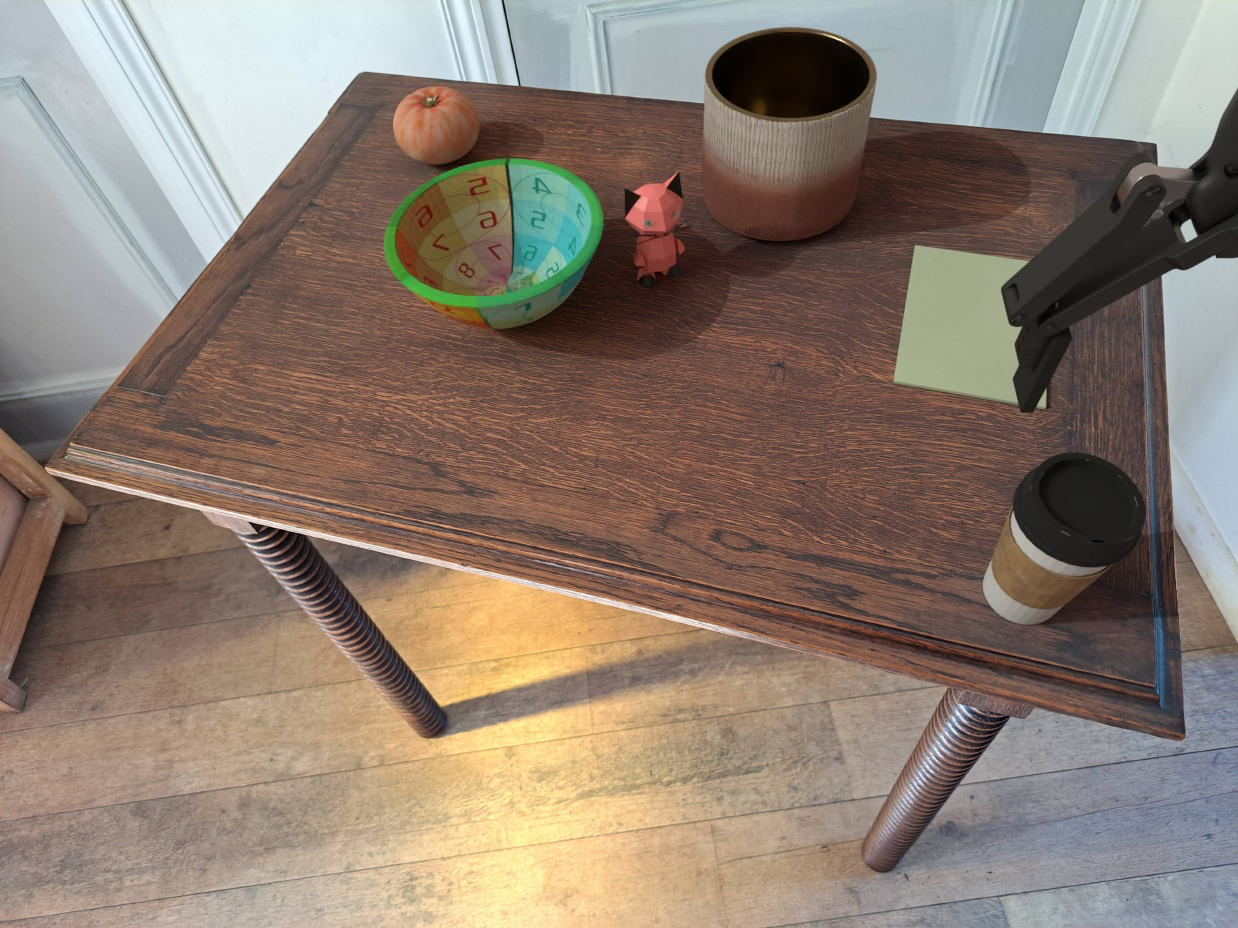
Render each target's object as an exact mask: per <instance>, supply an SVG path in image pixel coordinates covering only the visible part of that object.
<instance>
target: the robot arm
mask: <svg viewBox="0 0 1238 928" xmlns="http://www.w3.org/2000/svg"><path fill="white" fill-rule="evenodd" d="M1113 179H1114V180H1113V181H1112V183H1111V184H1110V186H1109V187H1108V188H1107V190H1106V191H1105V192H1104V193H1103V194H1102V195H1101V196H1100V197H1099V198H1098V199H1097V200H1096V201H1094V203H1092V204H1091V205H1090V206H1089V207H1088V208H1086V209H1085V210H1084V212H1082V213H1081V214H1080V215H1079V216H1078V217H1077V218H1076V219H1074V220H1073V221H1072V222H1071V223H1069V225H1068V226H1067V227H1065V228H1064V230H1062V231H1061V232H1060V233H1059V234H1058V235H1057V236H1055V238H1053V239H1052V240H1051V241H1050V242H1049V243H1048V244H1047V245H1045V246H1044V248H1042V249H1041V250H1040V251H1039V252H1037V254H1036V255H1034V256H1033V257H1032V258H1031V259H1030V260H1028V261H1029V262H1028V263H1027V264H1026V265H1025V266H1024V267H1022V268H1021V269H1020V270H1019V271H1018V272H1017V273H1016V274H1015V275H1014V276H1012V277H1011V278H1010V279H1009V280H1008V281H1007V282H1006V283H1005V284H1004V285H1003V286H1002V287H1001V293H1002V297H1003V302H1004V306H1005V310H1006V314H1007V318H1008V322H1009V324H1010V325H1011V326H1013V327H1022V328H1021V330H1020V333H1019V335H1018V338H1017V339H1016V341H1015V344H1014V345H1015V351H1016V355H1017V359H1018V363H1019V366H1018V368H1017V370H1016V372H1015V374H1014V376H1013V383H1014V387H1015V392H1016V396H1017V400H1018V405H1017V406H1018V409H1019V413H1025V414H1026V413H1027V414H1034V412H1035V411H1036V409H1037V408H1036V407H1037V405H1038V403H1039V401H1040V399H1041V397H1042V395H1043V393H1044V392H1045V390H1046V388H1048V386H1049V384H1050V382H1051V380H1052V378H1053V377H1054V375H1055V373H1056V371H1057V369H1058V367H1059V365H1060V363H1061V362H1062V360H1063V357H1064V356H1065V354H1066V352H1067V350H1068V348H1069V346H1070V344H1071V343H1072V341H1073V336H1072V332H1071V330H1070V327H1071V326H1073V325H1075V324H1076V323H1079V322H1080V321H1082V320H1084V319H1086V318H1087V317H1090V316H1091V315H1094V314H1095V313H1097V312H1098V311H1100V310H1102V309H1103V308H1106V307H1107V306H1110V305H1111V304H1114V303H1115V302H1117V301H1118V300H1120V299H1122V298H1124V297H1126V296H1127V295H1129V294H1131V293H1133V292H1135V291H1137V290H1138V289H1140V288H1143V287H1144V286H1146V285H1147V284H1149V283H1152V282H1153V281H1155V280H1156V279H1158V278H1160V277H1162V276H1164V275H1165V274H1168V273H1169V272H1171V271H1173V270H1180V271H1181V272H1183V271H1187V270H1190V269H1192V268H1194V267H1195V266H1197V265H1200V264H1202V263H1203V262H1205V261H1207V260H1209V259H1211V258H1213V257H1214V256H1215V259H1238V87H1237V88H1236V90H1235V91H1234V93H1233V95H1232V97H1231V99H1230V101H1229V102H1228V103H1227V105H1226V107H1225V110H1224V111H1223V113H1222V115H1221V117H1220V120H1219V122H1218V125H1217V128H1216V130H1215V135H1214V137H1213V139H1212V143H1211V145H1210V147H1209V148H1208V149H1207V150H1206V152H1205V153H1204V154H1203V155H1202V156H1201V157H1200V158H1198V159H1197V160H1196V161H1195V162H1194V163H1192V164H1191V165H1190V166H1188V168H1184V167H1183V168H1182V167H1171V166H1161V165H1157V164H1156V163H1155V160H1154V158H1153V156H1152V155H1151V154H1150V153H1148V152H1137V153H1134V154H1132V155H1131V156H1130V157H1128V158H1127V159H1126V160H1125V162H1124V163H1123V165H1122V167H1121V168H1120V169H1119V171H1118V173H1117V175H1116V176H1115V178H1113ZM1188 221H1190V222H1191V224H1192V227H1193V230H1194V232H1195V233H1196V236H1195V237H1194V238H1192V239H1189V240H1188V241H1187V240H1186V238H1185V236H1184V234H1183V231H1182V226H1183V224H1185V223H1186V222H1188Z"/></svg>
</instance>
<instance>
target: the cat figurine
mask: <svg viewBox="0 0 1238 928" xmlns="http://www.w3.org/2000/svg"><path fill="white" fill-rule="evenodd" d="M680 174H681V173H680V171H679V170H678V171H677V172H675V174H673V175H672V176H671V177H670V178H669V179H667V180H665V182H658V183H647V184H643V185H641V187H638V188H637V189H635V190H634V191H632V190H630V189H627V188H624V219H625V220H626V222H627V223H628V225H629V226H630V227H631V228H632V229H633V230H635V231H637V232H638V234H634V236H636V237H637V239H636V243H635V245H636V253H635V255H634V257H633V263H634V265H635V266H636V267H637V268H639V269H638V271H637V278H636V281H637V283H638V284H640V285H641V286H642V287H649V286H650V287H651V286H652V285H654V282H656V280H657V279H656V274H655V273H656V272H660V273H662V274H663V275H664V276H665V277H671V278H677V277H678V276H679V275H681V274H682V272H681V267H680V265H678V264H677V253H678V254H679V256H681V255H682V254H683V253H684V252H685V251H686V249H685V244H684V243H682V239H678V238H675V235H674V234H673V233H676V232H680V231H683V230H686V229H689V228H690V227H691V226H693V223H692V224H691V225H689V226H686V227H683V228H680V229H677V228H679V227H680V226H681V225H683V224H684V223H686V222H687V221H689V220H690V218H691V217H689V218H687V219H685V221H683V222H682V223H680V224H679V225H678V223H679V221H680V220H681V214H682V209H683V203H684V196H683V195H684V194H683V189H682V183H681V182H682V181H681V175H680ZM672 230H674V231H672ZM630 236H633V234H630Z"/></svg>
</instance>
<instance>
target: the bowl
mask: <svg viewBox="0 0 1238 928" xmlns="http://www.w3.org/2000/svg"><path fill="white" fill-rule="evenodd" d="M604 217H605V215H604V212H603V207H602V203H601V202H600V200H599V198H598V196H597V194H596V192H594V191H593V189H592V188H591V187H590V186H589V184H588V183H586V182H585V181H584V180H583V179H582V178H581V177H579V176H577V175H576V174H575V173H572V172H571V171H569V170H567V169H565V168H562V167H560V166H558V165H555V164H553V163H547V162H544V161H540V160H534V159H526V158H495V159H489V160H481V161H476V162H473V163H469V164H465V165H461V166H458V167H455V168H452V169H450V170H448V171H445V172H443V173H440V174H439V175H437V176H435V177H433V178H430V179H429V180H428V181H426V182H425V183H423V184H421V185H420V186H419V187H418V188H417V187H416V189H414V190H413V192H411V193H410V194H408V195H407V197H406V198H405V199H404V200H403V201H402V202H401V203H400V204H399V205H398V206H397V208H396V210H395V211H394V212H393V213H392V215H391V217H390V219H389V222H388V224H387V226H386V228H385V233H384V238H383V253H384V256H385V257H384V258H385V260H386V265H387V266H388V267H389V270H390V272H391V273H392V275H393V276H394V277H395V278H396V280H398V282H399V283H400V284H401V285H402V286H403V287H405V288H406V289H408V290H409V291H410V292H412V294H413V295H415V296H417V298H419V299H420V300H421V301H423V302H424V303H426V304H428V306H430V307H431V308H432V309H434V310H435V311H437V312H438V313H439V314H441V315H444V316H445V317H447V318H449V319H451V320H453V321H455V322H457V323H460V324H463V325H466V326H470V327H475V328H480V329H481V328H482V329H488V330H491V329H492V330H501V329H502V330H503V329H512V328H518V327H521V326H524V325H528V324H530V323H533V322H535V321H537V320H539V319H541V318H543V317H545V316H547V315H548V314H550V313H551V312H553V311H554V310H556V309H557V308H558V307H559V306H561V305H562V304H563V303H564V302H565V301H566V300H567V299H568V298H569V297H570V296H571V294H572V293H573V291H574V290H575V289H576V288H577V286H578V285H579V283H580V282H581V281H582V279H583V277H584V274H585V273H586V270H587V268H588V267H589V265H590V263H591V262H592V259H593V257H594V255H595V253H596V251H597V249H598V246H599V244H600V242H601V240H602V236H603V231H604V227H605V226H604V225H605V224H604V222H605V221H604V220H605V219H604Z"/></svg>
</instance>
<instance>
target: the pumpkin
mask: <svg viewBox="0 0 1238 928" xmlns="http://www.w3.org/2000/svg"><path fill="white" fill-rule="evenodd" d="M479 115H480V114H479V112H478V110H477V108H476V106H475V104H474V103H473V101H472V100H471V99H470V97H468V95H466V94H464V93H462V92H460V91H459V90H457V89H456V88H453V87H448V86H444V85H438V86H426V87H423V88H419V89H417V90H416V91H414V92H412V93H410V94H408V95H406V97H404V98H403V99H402V100H401V101H400V103H399V104H398V105H397V108H396V109H395V112H394V115H393V121H392V128H393V129H392V130H393V135H394V138H395V140H396V141H395V142H396V143H397V145H398V146H399V147H400V149H401V150H402V151H403V152H404V153H405V154H406V155H407V156H408V157H410V158H411V159H413V160H415V161H417V162H420V163H423V164H427V165H446V164H449V163H452V162H455V161H457V160H460V159H461V158H463V157H464V156H465V155H466V154H468V153H469V152H470V151H471V150H472V149H473V147H474V146H475V144H476V142H477V140H478V138H479V134H480V129H481V128H480V127H481V126H480V125H481V122H480V116H479Z"/></svg>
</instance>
